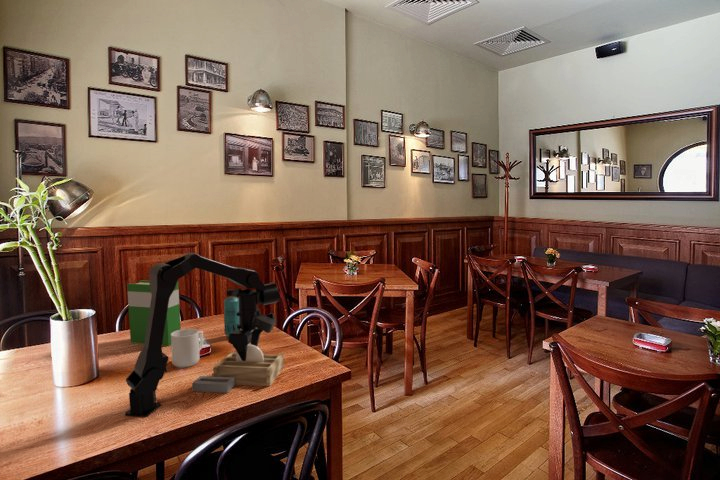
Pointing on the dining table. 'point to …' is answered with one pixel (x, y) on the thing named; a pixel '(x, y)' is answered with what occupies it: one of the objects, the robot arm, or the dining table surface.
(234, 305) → the beverage bottle
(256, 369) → the rack
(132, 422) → the dining table surface
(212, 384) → the stand
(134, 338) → the green cereal box
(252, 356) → the plate
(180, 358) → the mug
